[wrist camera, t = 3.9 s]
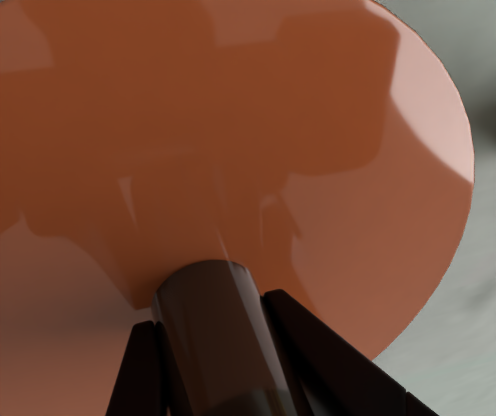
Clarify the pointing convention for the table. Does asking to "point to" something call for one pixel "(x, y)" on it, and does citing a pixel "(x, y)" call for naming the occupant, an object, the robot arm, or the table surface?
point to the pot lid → (215, 192)
